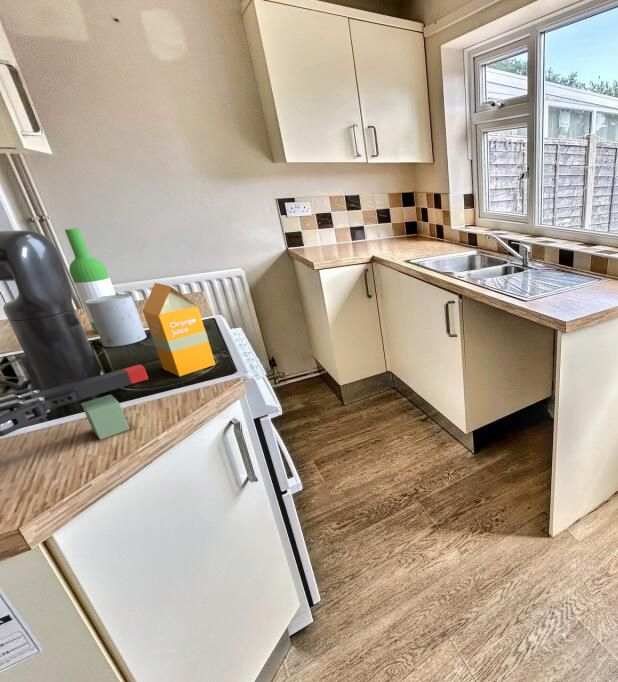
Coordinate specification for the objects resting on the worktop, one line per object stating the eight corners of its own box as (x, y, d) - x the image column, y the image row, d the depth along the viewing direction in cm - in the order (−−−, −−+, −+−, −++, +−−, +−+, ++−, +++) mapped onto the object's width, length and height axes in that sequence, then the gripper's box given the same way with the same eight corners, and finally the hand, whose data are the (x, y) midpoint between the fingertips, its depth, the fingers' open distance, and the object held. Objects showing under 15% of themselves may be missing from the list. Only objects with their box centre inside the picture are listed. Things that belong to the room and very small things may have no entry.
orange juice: (179, 376, 95) (149, 290, 88) (162, 368, 99) (132, 286, 92) (216, 364, 101) (191, 282, 94) (199, 357, 106) (174, 279, 98)
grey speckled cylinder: (94, 344, 117) (77, 301, 112) (134, 333, 125) (119, 293, 120) (115, 348, 113) (97, 304, 109) (154, 336, 121) (139, 295, 117)
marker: (39, 412, 66) (32, 398, 65) (36, 408, 68) (30, 394, 67) (148, 378, 77) (144, 367, 76) (144, 375, 78) (140, 364, 77)
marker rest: (100, 439, 72) (87, 411, 70) (93, 430, 75) (80, 403, 73) (129, 429, 75) (118, 401, 73) (121, 420, 78) (110, 394, 76)
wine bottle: (90, 331, 128) (48, 230, 117) (122, 324, 134) (85, 227, 123) (99, 335, 124) (57, 231, 113) (132, 327, 130) (94, 227, 119)
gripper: (-112, 433, 52) (78, 380, 65) (-110, 402, 60) (59, 361, 73) (-80, 482, 55) (96, 422, 68) (-82, 447, 63) (77, 399, 75)
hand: (76, 390), depth 70 cm, fingers closed on marker, 2 cm apart
